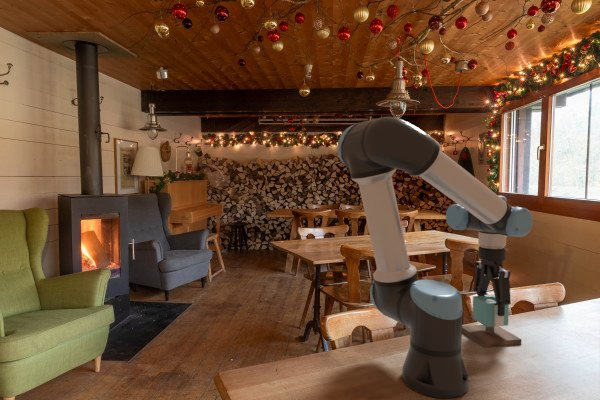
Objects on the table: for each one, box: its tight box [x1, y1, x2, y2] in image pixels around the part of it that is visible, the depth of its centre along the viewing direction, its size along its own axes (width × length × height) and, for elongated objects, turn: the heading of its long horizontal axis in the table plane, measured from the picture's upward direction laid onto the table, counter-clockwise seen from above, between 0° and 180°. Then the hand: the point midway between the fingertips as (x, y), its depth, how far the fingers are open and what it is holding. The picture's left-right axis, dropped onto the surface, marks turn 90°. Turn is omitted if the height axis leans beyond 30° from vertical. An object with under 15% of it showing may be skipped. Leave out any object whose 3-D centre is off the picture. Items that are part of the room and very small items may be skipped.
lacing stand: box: [462, 299, 522, 348], centre depth 119 cm, size 12×12×12 cm
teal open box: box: [472, 294, 510, 327], centre depth 119 cm, size 7×7×7 cm
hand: (490, 320), depth 119 cm, fingers closed on teal open box, 7 cm apart
